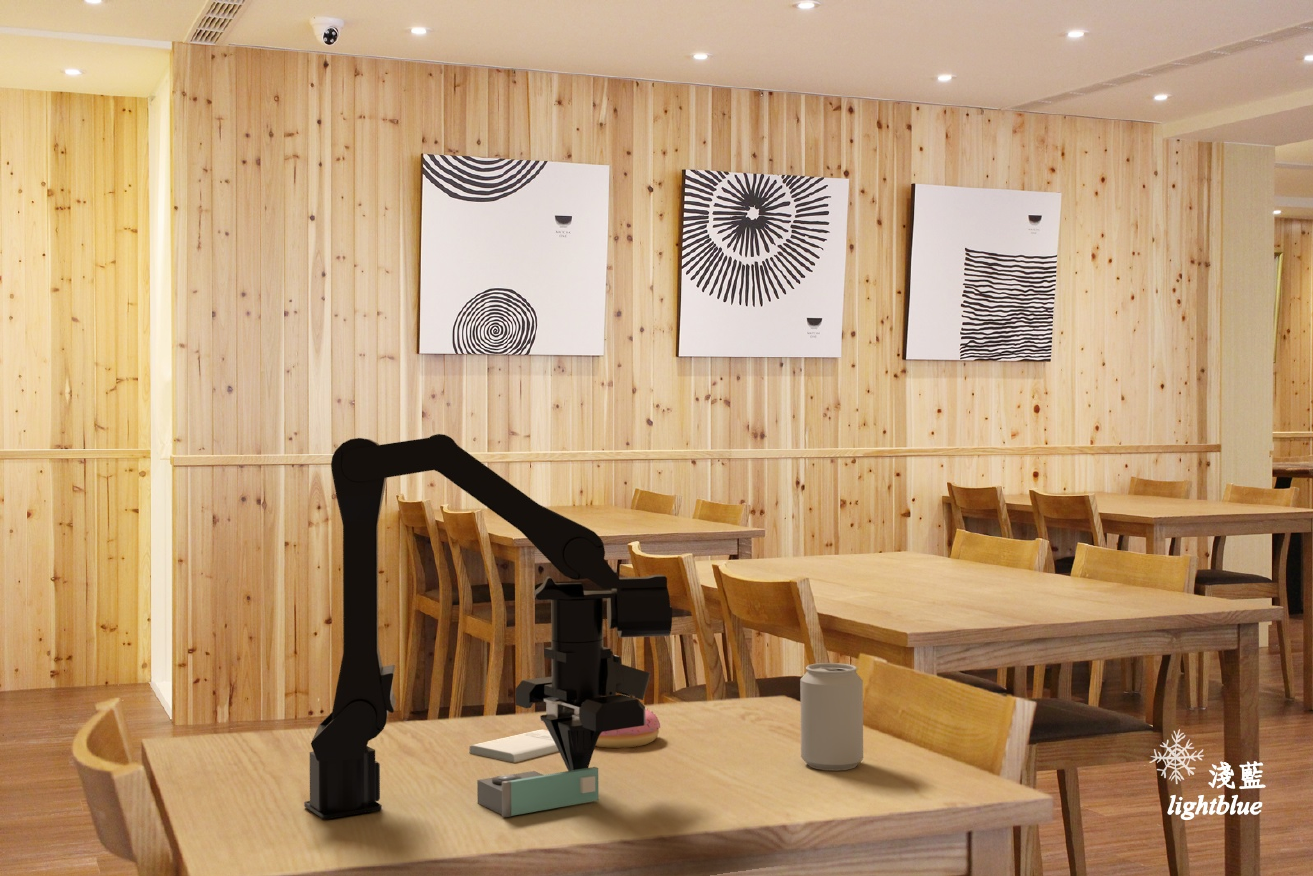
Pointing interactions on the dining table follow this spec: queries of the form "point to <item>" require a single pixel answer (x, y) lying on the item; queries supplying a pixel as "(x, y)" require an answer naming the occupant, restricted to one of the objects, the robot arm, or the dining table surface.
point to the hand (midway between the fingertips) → (578, 780)
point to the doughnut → (631, 734)
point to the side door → (549, 791)
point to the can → (831, 716)
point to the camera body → (497, 789)
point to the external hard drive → (517, 746)
